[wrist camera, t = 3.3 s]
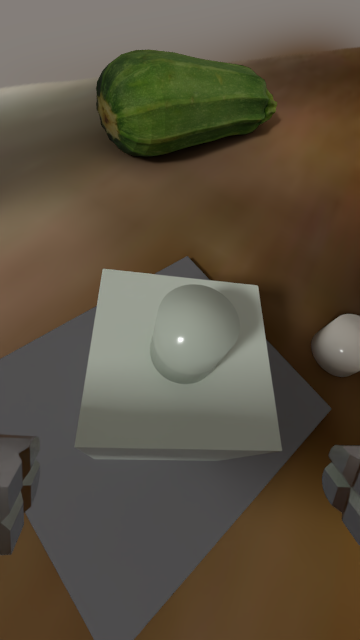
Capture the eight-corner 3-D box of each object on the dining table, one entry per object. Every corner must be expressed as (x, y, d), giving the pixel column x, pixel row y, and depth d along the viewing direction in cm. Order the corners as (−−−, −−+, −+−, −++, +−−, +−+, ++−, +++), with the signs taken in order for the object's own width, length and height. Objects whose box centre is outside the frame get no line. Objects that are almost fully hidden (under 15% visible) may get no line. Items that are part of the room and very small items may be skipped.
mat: (-40, 386, 16) (-45, 383, 15) (185, 261, 22) (187, 256, 22) (109, 659, 12) (109, 667, 11) (325, 410, 19) (331, 408, 18)
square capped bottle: (94, 459, 15) (58, 437, 6) (109, 341, 18) (98, 222, 9) (218, 460, 16) (328, 443, 7) (212, 348, 19) (285, 246, 10)
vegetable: (88, 21, 20) (291, 22, 28) (79, 100, 26) (245, 84, 34) (131, 129, 20) (317, 101, 28) (112, 180, 27) (267, 145, 35)
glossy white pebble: (300, 347, 21) (321, 332, 18) (328, 321, 22) (351, 304, 20) (340, 387, 20) (367, 376, 17) (366, 358, 21) (394, 344, 19)
